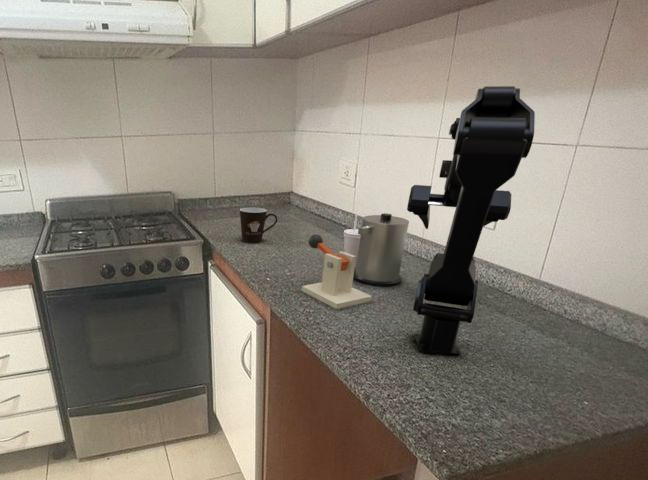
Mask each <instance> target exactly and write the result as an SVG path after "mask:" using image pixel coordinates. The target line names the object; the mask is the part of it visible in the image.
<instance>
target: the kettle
mask: <svg viewBox="0 0 648 480" xmlns="http://www.w3.org/2000/svg"><path fill="white" fill-rule="evenodd" d="M409 223H410V221H409V220H408V219H407V218H403V217H399V216H394V215H393V214H392V213H381V214H373V215H372V214H370V215H364V216H363V217H362V221H361V226H359V227H358V234H359V235H361V236H360V243H359V250H358V257H357V264H356V268H355V269H354V276H353V281H355V282H356V283H359V284H362V285H364V286H369V287H377V288H393V287H397V286H399V285H401V284H402V282H403V277H402V276H401V275H400V273H401V266H402V262H403V257H404V251H405V246H406V240H407V235H408V228H409Z"/></svg>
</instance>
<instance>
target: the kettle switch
mask: <svg viewBox="0 0 648 480" xmlns="http://www.w3.org/2000/svg"><path fill="white" fill-rule="evenodd" d="M308 245H309V246H310V248H312V249H318V250H319V251H321V252H322V253H323V255H325V254H331V255H334V256H336V257H339V258H342V263H341V271H344V270H346V268H347V265H348V263H349V261H348V260H347V259H346V258H345V257H343V256H342V255H339V254H335V252H333V251H332V250H331V249H330V248H328V247H327V246H326V245H325V244H324V240H323V237H322V236H321V235H319V234H313V235H311V236H310V237H309V238H308Z"/></svg>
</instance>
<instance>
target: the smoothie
mask: <svg viewBox="0 0 648 480" xmlns="http://www.w3.org/2000/svg"><path fill="white" fill-rule="evenodd" d="M354 216H355V217H354V223H353V228H348V229H344V230H343V234H342V235H343V236H344V237H343V245H344V247H343V249H344V251H343V252H346V253H348V254H351V255H354V256H356V262H355V269H356V264H357V257H358V250H359V243H360V236H361V235H359V234H358V229H359V228H358V229H357V223H358V216H359V215H358V214H355V215H354Z"/></svg>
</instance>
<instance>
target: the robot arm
mask: <svg viewBox="0 0 648 480" xmlns="http://www.w3.org/2000/svg"><path fill="white" fill-rule="evenodd" d="M535 114H536V113H535V111H534V110H533V108H532V107H531V106H529V105H528V103H526V102H525V101H524V100H522V99H521V88H519V87H518V88H516V86H515V85H509V86H507V85H505V86H504V85H501V86H499V85H497V86H496V85H495V86H492V85H491V86H486V85H485V86H484V87H482V88H478V89H477V91H476V95H475V100H473V101H472V102H471V103H470V104H469V105H467V106H466V107H464V109H463V110H461V113H460V117H456V118H455V120H454V122H453V123H452V124H451V125H450V127H449V130H448V136H451V140H454V146H453V152H452V155H453V156H452V159H451V160H450V159H449V160H448V159H442V162H441V165H440V166H441V167H440V171H439V176H438V177H439V178H440V179H442V178H443V179H445V184H444V188H443V189H444V192H443V194H440V193H431V190H432V185H422V184H414V185H413V186H411V188H410V191H409V195H408V201H407V206H406V207H407V208H406V211H407V212H409V213H412V214H413V215H415V216H418V218H419V219H420V220H421V222H422V224H423V226H424V228H425V230H428V229H429V225H430V221H431V220H430V218H431V217H430V216H431V206H437V207H438V206H439V207H449V208H455V210H454V213H453V217H452V221H451V225H450V228H449V233H448V236H447V240H446V244H445V247H444V251H443V253H441V252H440V253H439V252H437V253H436V254H435V255H434V256H433V258H432V261H431V262H430V265H429V270H428V272H427V273H424V274H423V276H422V277H421V279H419V280H418V282H417V288H416V293H415V297H414V304H413V308H412V310H413V311H414V312H416V315H417V316H423V320H422V326H421V329H420V333H414V334H413V340H414V342H415V343H416V345H417V347H418V349H419V351H420V352H421V353H422V354H423V353H424V354H436V355H448V356H461V354H462V352H461V350H460V348H459V347H458V346H457V345H456V340H457V337H458V333H459V329H460V325H461V322H462V323H466V324H472V321H473V318H474V315H475V310H476V304H477V303H476V302H477V294H478V286H479V281H478V280H476V275H477V273H476V272H477V266H476V260H475V257H474V256H475V253H476V249H477V246H478V243H479V241H480V237H481V235H482V231H483V230H484V229H483V228H484V227H485V226H488V225H490V224H492V223H497V222H498V221H505V220H507V219H508V218H509V215H510V213H511V209H512V193H511V191H510V190H499V189H500V188H501V187H502V186H503V185H505V184H506V183H507V182H509V181H510V180H511V179H512V178H514V177H515V175H516V173H517V170H518V169H519V166H520V164H521V161H522V159H527V157H528V155H529V153H530V151H531V148H532V144H533V142H534V136H535V124H536V123H535V118H536V117H535V116H536V115H535ZM424 301H426V302H424ZM427 301H428V302H433V303H428V302H427ZM434 302H435V304H434ZM436 303H442V304H448V305H453V306H447V305H441V304H436ZM454 305H455V306H461V307H466V308H460V307H454Z"/></svg>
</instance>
